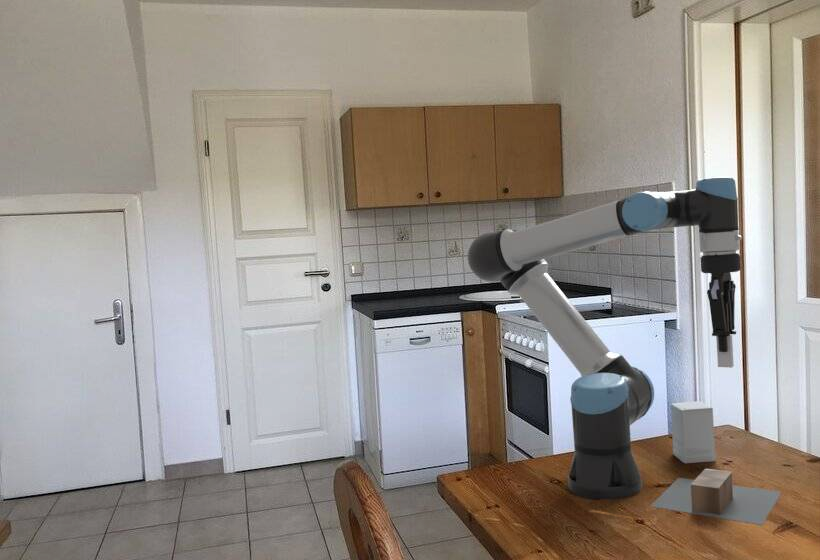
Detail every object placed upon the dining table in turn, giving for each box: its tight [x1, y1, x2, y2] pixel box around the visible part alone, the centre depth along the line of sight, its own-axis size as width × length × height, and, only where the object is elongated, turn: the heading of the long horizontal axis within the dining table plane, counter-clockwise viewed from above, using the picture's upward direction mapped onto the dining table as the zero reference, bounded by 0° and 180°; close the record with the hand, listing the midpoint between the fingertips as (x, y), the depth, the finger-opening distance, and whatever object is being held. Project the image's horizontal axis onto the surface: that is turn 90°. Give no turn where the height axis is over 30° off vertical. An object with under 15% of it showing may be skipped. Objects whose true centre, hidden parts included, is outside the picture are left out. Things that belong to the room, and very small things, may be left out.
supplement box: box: [670, 400, 717, 464], centre depth 166 cm, size 7×7×13 cm
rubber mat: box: [649, 477, 783, 526], centre depth 141 cm, size 20×18×1 cm
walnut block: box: [691, 468, 734, 515], centre depth 139 cm, size 5×5×10 cm
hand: (725, 366), depth 149 cm, fingers closed
